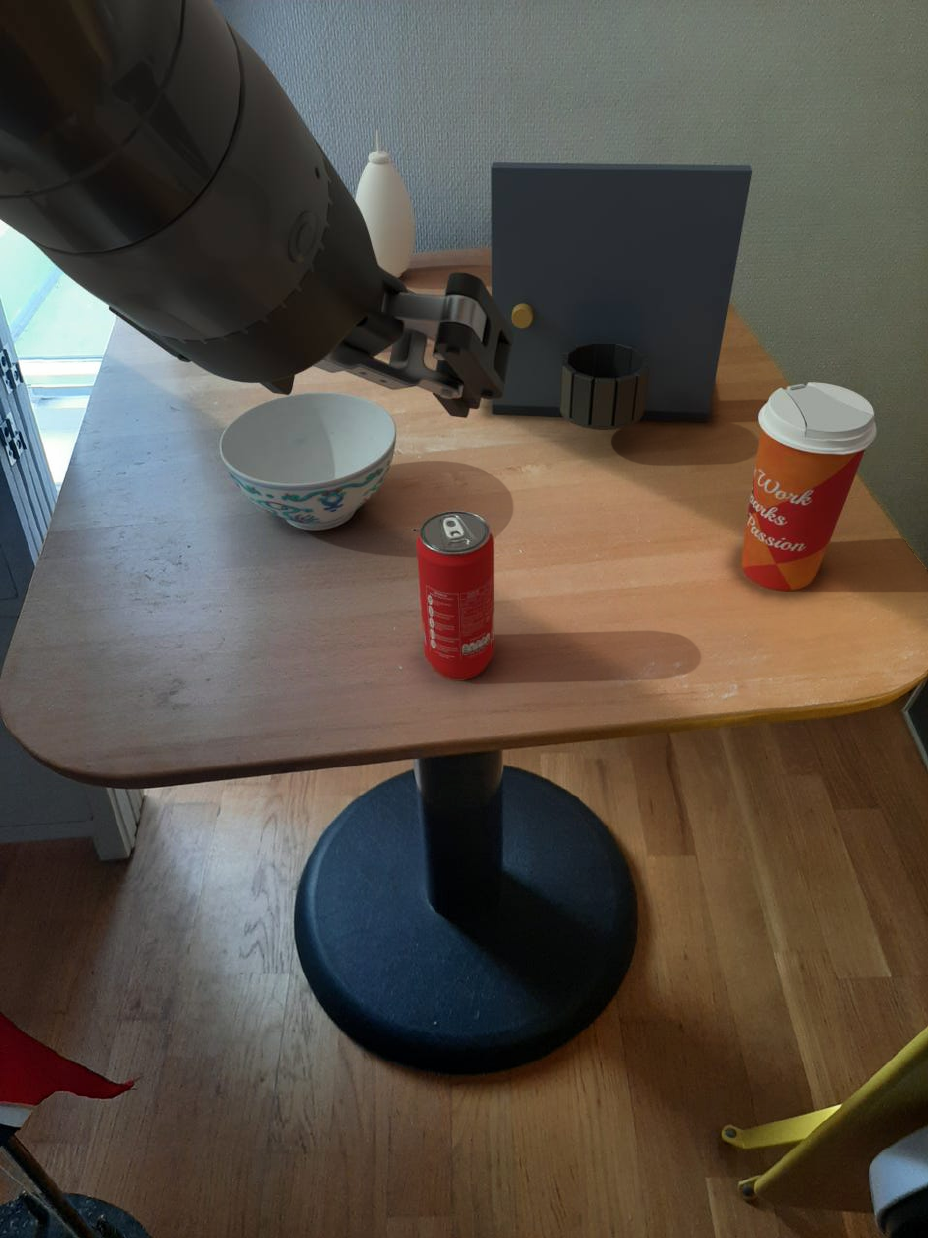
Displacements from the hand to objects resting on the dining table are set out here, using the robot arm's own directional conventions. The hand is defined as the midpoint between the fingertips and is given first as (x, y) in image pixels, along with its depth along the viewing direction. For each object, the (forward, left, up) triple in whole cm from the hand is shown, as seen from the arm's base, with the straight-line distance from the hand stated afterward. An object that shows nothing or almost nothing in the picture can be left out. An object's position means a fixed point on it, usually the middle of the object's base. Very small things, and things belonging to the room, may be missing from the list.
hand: (374, 384), depth 42 cm
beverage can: (-2, -11, -29) cm, 31 cm away
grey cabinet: (-12, -48, -29) cm, 57 cm away
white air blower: (+16, -81, -29) cm, 88 cm away
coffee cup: (-27, -24, -29) cm, 46 cm away
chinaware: (+13, -29, -29) cm, 43 cm away
